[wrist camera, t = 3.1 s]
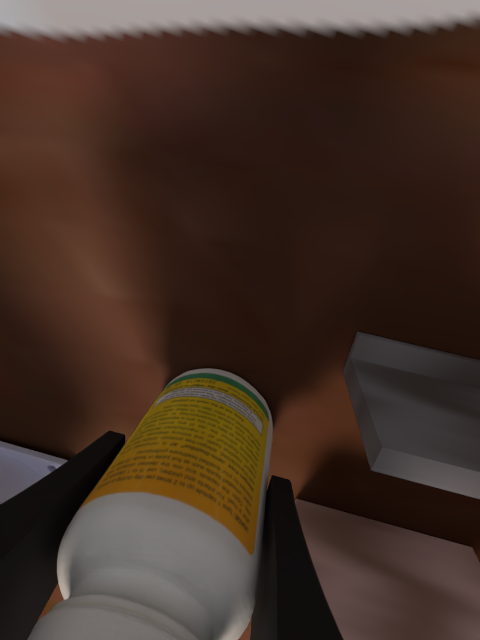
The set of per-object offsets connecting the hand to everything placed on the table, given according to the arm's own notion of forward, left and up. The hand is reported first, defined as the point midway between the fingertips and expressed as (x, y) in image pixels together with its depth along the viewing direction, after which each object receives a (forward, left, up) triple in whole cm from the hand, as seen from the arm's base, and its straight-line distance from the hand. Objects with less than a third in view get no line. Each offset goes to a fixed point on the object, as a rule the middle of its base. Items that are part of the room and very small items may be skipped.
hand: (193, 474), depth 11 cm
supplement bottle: (0, 0, -4) cm, 4 cm away
